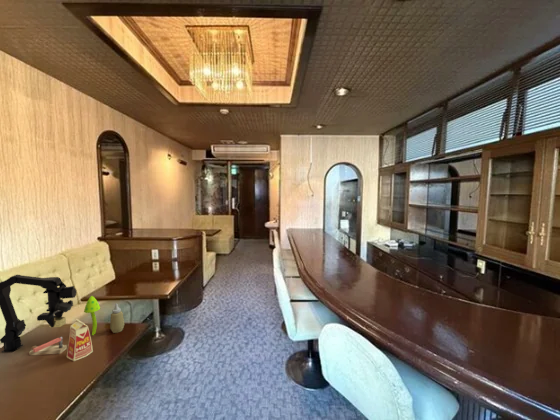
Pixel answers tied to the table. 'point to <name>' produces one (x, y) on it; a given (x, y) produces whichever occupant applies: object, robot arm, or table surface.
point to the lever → (47, 344)
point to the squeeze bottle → (116, 320)
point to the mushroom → (92, 311)
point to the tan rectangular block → (59, 321)
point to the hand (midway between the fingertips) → (55, 325)
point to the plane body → (50, 349)
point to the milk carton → (79, 341)
